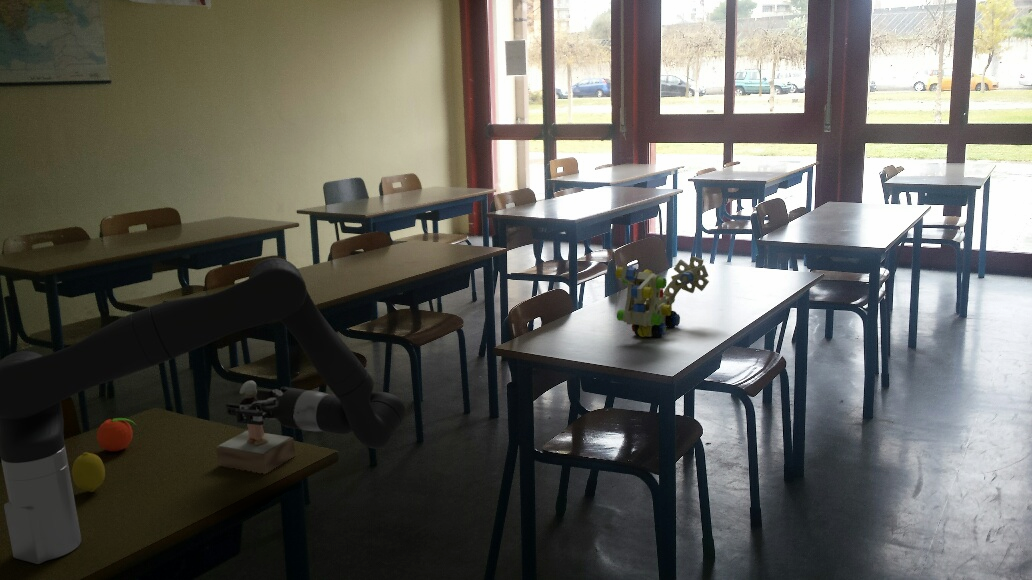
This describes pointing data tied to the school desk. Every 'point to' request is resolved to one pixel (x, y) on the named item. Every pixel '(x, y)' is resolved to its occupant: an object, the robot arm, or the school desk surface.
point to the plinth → (255, 453)
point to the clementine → (115, 434)
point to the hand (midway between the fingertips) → (242, 401)
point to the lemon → (88, 471)
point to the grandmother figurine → (250, 392)
